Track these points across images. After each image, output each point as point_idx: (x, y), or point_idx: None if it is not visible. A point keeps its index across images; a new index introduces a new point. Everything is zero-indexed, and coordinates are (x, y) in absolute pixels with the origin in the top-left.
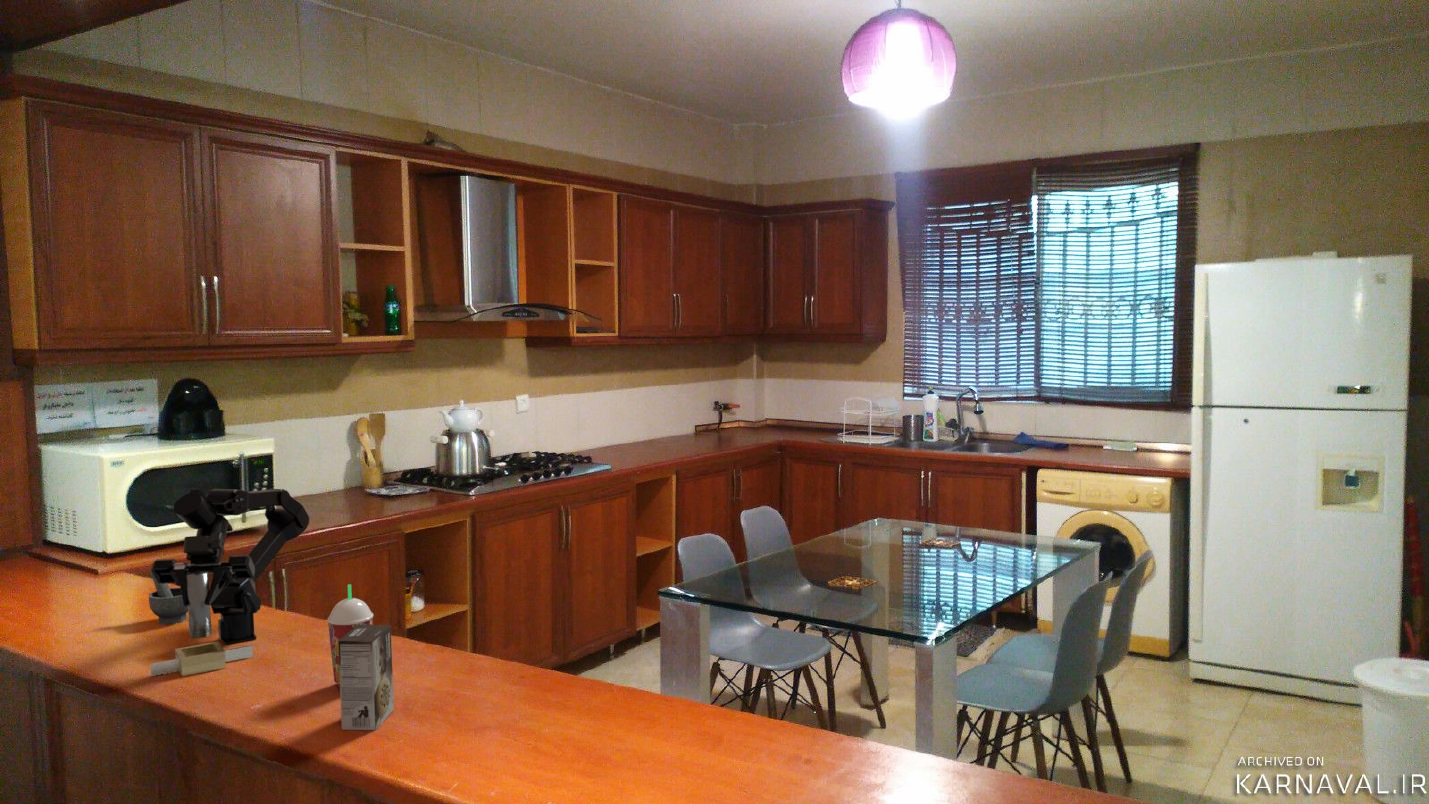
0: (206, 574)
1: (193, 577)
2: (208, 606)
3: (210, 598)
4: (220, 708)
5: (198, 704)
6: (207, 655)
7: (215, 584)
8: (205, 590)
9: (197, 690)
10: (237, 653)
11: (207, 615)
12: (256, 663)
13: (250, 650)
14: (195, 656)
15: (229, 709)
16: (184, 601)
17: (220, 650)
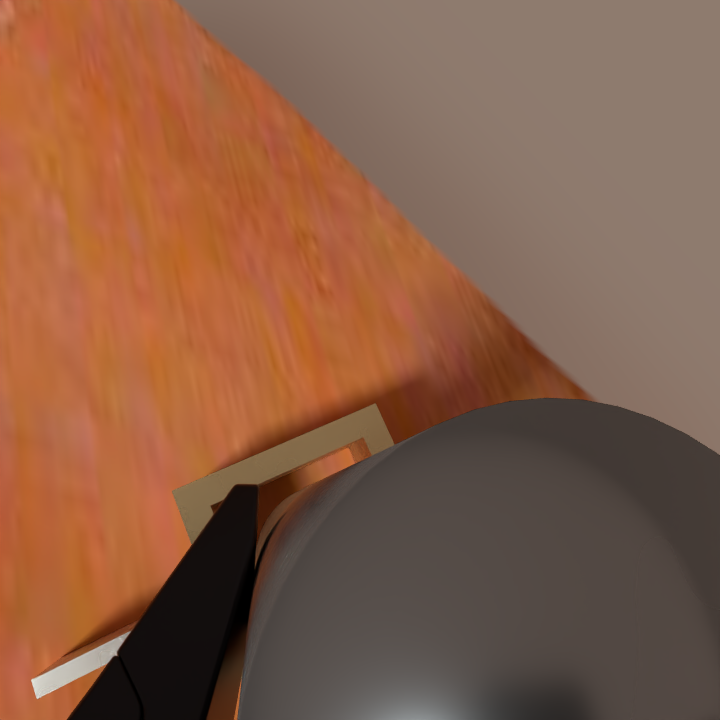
0: (260, 632)
1: (563, 413)
2: (258, 553)
3: (215, 514)
4: (126, 38)
5: (213, 98)
6: (260, 454)
7: (106, 704)
8: (281, 527)
9: (251, 235)
10: (134, 625)
11: (267, 525)
12: (32, 535)
13: (58, 663)
14: (317, 436)
15: (92, 19)
16: None
17: (201, 516)
